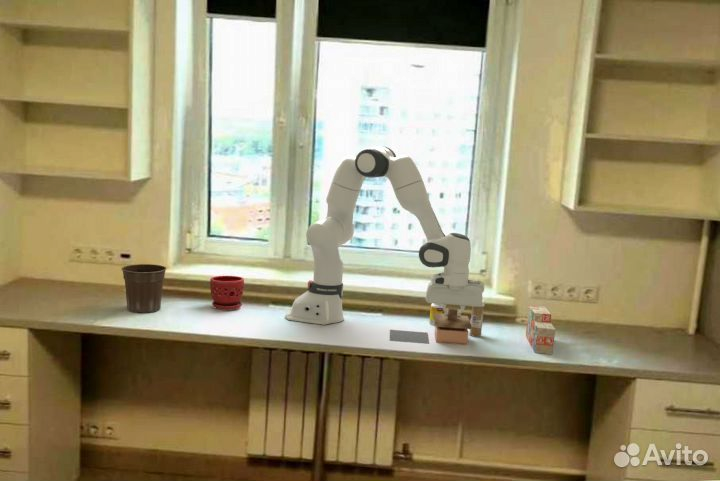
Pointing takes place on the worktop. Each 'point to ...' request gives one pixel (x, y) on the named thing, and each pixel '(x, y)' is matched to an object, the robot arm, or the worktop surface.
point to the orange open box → (451, 335)
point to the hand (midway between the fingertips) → (452, 316)
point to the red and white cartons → (540, 329)
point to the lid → (452, 320)
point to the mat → (409, 336)
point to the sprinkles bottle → (477, 320)
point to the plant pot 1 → (143, 287)
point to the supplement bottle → (435, 309)
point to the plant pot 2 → (227, 292)
